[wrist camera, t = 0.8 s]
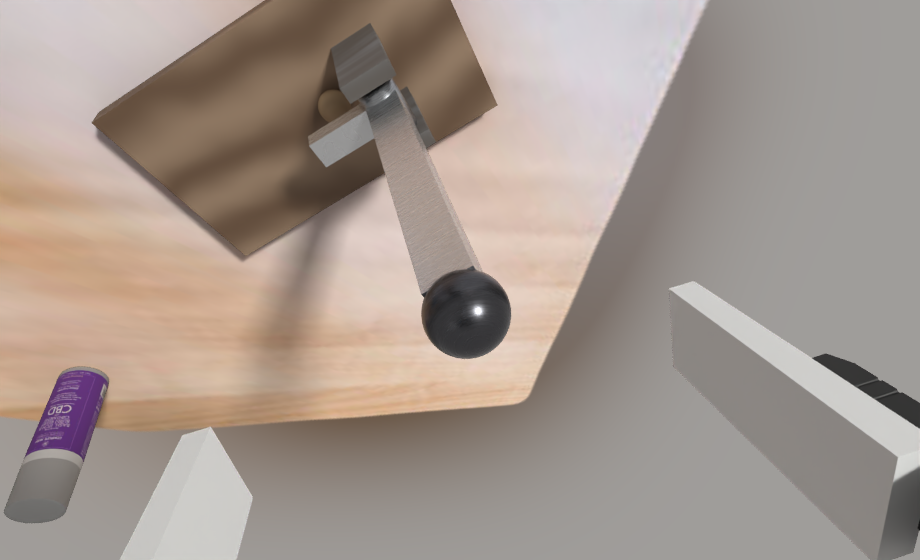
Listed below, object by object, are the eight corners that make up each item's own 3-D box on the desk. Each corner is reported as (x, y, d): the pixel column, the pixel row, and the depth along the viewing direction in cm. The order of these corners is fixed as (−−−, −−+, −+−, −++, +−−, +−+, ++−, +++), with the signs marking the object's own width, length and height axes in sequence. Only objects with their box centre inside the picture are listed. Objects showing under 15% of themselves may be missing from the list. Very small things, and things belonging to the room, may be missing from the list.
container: (83, 360, 53) (32, 492, 43) (119, 381, 57) (80, 509, 46) (47, 378, 54) (-13, 513, 43) (84, 398, 57) (38, 528, 46)
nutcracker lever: (300, 123, 35) (316, 398, 18) (392, 65, 34) (503, 296, 17) (331, 161, 38) (370, 435, 20) (417, 108, 37) (536, 348, 19)
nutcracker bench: (98, 112, 38) (53, 179, 31) (404, -94, 35) (437, -76, 27) (246, 243, 49) (239, 317, 42) (490, 96, 46) (531, 147, 38)
